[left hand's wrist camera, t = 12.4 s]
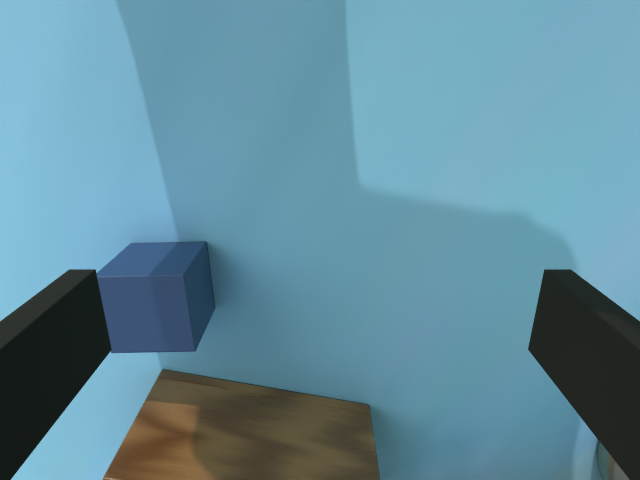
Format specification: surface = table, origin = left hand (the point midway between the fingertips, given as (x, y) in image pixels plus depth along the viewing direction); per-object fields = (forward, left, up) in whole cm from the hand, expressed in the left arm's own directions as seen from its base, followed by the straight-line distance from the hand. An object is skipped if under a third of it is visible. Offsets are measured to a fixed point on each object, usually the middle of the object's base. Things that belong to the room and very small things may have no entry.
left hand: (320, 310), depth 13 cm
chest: (+2, -20, -14) cm, 25 cm away
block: (-7, -9, -14) cm, 18 cm away
